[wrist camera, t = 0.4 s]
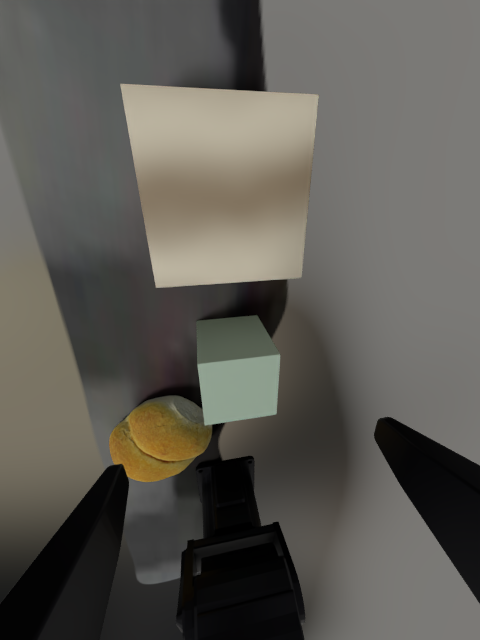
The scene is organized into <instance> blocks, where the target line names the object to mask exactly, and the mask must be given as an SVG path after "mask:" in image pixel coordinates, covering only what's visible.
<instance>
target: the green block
mask: <svg viewBox="0 0 480 640" xmlns="http://www.w3.org/2000/svg"><path fill="white" fill-rule="evenodd" d="M197 359H198V372H199V380H200V389H201V398H202V407H203V415H204V424H205V425H211V424H218V423H224V422H231V421H237V420H243V419H250V418H256V417H263V416H269V415H276V413H277V397H278V382H279V381H278V380H279V367H280V366H279V365H280V353H279V351H278V350H277V348H276V346H275V345H274V343H273V341H272V340H271V338H270V336H269V334H268V333H267V331H266V329H265V328H264V326H263V324H262V323H261V321H260V319H259V318H258V316H257V315H254V316H243V317H232V318H221V319H210V320H199V321H197Z"/></svg>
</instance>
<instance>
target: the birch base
mask: <svg viewBox="0 0 480 640" xmlns="http://www.w3.org/2000/svg"><path fill="white" fill-rule="evenodd" d="M120 85H121V91H122V97H123V102H124V108H125V114H126V119H127V125H128V131H129V136H130V142H131V148H132V153H133V159H134V165H135V171H136V176H137V182H138V188H139V193H140V199H141V205H142V210H143V216H144V222H145V227H146V233H147V239H148V245H149V250H150V256H151V262H152V267H153V273H154V279H155V284H156V288H161V287H176V286H191V285H205V284H220V283H234V282H249V281H264V280H278V279H292V278H302V267H303V256H304V245H305V235H306V224H307V214H308V213H307V212H308V203H309V192H310V182H311V171H312V161H313V150H314V139H315V129H316V118H317V108H318V97H319V95H317V94H298V93H279V92H261V91H243V90H224V89H206V88H188V87H169V86H151V85H132V84H120Z"/></svg>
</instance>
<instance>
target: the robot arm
mask: <svg viewBox="0 0 480 640" xmlns="http://www.w3.org/2000/svg"><path fill="white" fill-rule="evenodd" d="M374 438H375V441H376V442H377V444H378V446H379V448H380V450H381V451H382V453H383V455H384V457H385V459H386V461H387V462H388V464H389V466H390V468H391V469H392V471H393V473H394V475H395V477H396V478H397V480H398V482H399V483H400V485H401V487H402V488H403V490H404V491H405V493H406V494H407V496H408V497H409V499H410V500H411V502H412V503H413V505H414V506H415V508H416V509H417V511H418V512H419V514H420V515H421V517H422V518H423V519H424V521H425V522H426V524H427V525H428V527H429V529H430V530H431V531H432V533H433V534H434V536H435V537H436V539H437V541H438V542H439V544H440V545H441V547H442V548H443V550H444V551H445V552H446V554H447V555H448V557H449V558H450V560H451V561H452V563H453V564H454V566H455V567H456V569H457V570H458V572H459V573H460V575H461V576H462V578H463V579H464V581H465V582H466V584H467V585H468V587H469V588H470V590H471V591H472V593H473V594H474V596H475V597H476V599H477V600H478V602H479V603H480V466H479V465H478V464H476V463H474V462H472V461H470V460H468V459H467V458H465V457H463V456H461V455H459V454H457V453H455V452H454V451H452V450H450V449H448V448H446V447H445V446H443V445H441V444H439V443H437V442H435V441H433V440H432V439H430V438H428V437H426V436H424V435H422V434H421V433H419V432H417V431H415V430H413V429H411V428H410V427H408V426H406V425H404V424H402V423H400V422H398V421H397V420H395V419H393V418H391V417H385V418H380V419H379V420H378V421H377V425H376V429H375V433H374ZM196 475H197V482H198V488H199V495H200V501H201V503H202V506H203V537H204V539H199V540H194V539H193V540H188V544H187V549H186V550H184V551H183V552H182V556H181V579H180V588H179V597H178V606H177V615H176V624H177V626H178V628H179V629H180V630H181V632H182V633H183V640H304V635H303V630H302V626H301V624H304V622H305V610H304V603H303V597H302V592H301V588H300V584H299V580H298V576H297V573H296V570H295V567H294V564H293V562H292V559H291V556H290V553H289V550H288V547H287V545H286V542H285V539H284V536H283V533H282V531H281V528H280V525H279V522H273V524H270V525H266V526H261V521H260V517H259V512H258V507H257V502H256V498H255V493H254V458H253V457H252V456H246V457H241V458H236V459H230V460H224V461H219V462H213V463H208V464H202V465H198V466H197V467H196ZM128 490H129V480H128V477H127V474H126V471H125V468H124V465H123V464H116V465H111V466H109V467H107V468H106V470H105V471H104V472H103V474H102V475H101V476H100V477H99V479H98V480H97V481H96V483H95V484H94V485H93V487H92V488H91V489H90V490H89V491H88V493H87V494H86V495H85V496H84V498H83V499H82V500H81V501H80V503H79V504H78V505H77V507H76V508H75V509H74V510H73V512H72V513H71V514H70V516H69V517H68V518H67V519H66V520H65V522H64V523H63V525H62V526H61V527H60V528H59V529H58V531H57V532H56V533H55V534H54V536H53V537H52V538H51V540H50V541H49V542H48V543H47V545H46V546H45V547H44V549H43V550H42V551H41V552H40V554H39V555H38V556H37V558H36V559H35V560H34V561H33V562H32V564H31V565H30V566H29V568H28V569H27V570H26V571H25V573H24V574H23V575H22V576H21V578H20V579H19V580H18V582H17V583H16V584H15V585H14V587H13V588H12V589H11V591H10V592H9V593H8V594H7V596H6V597H5V598H4V599H3V601H2V602H1V603H0V640H99V639H100V635H101V631H102V626H103V622H104V618H105V613H106V609H107V604H108V600H109V596H110V592H111V587H112V583H113V578H114V574H115V570H116V566H117V561H118V557H119V551H120V547H121V540H122V534H123V526H124V519H125V512H126V504H127V497H128ZM200 571H201V575H197V572H200Z"/></svg>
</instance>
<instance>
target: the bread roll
mask: <svg viewBox="0 0 480 640" xmlns="http://www.w3.org/2000/svg"><path fill="white" fill-rule="evenodd" d="M211 435H212V424H211V425H205V424H204V415H203V409H201V408H200V407H198V406H197V405H196V404H195V403H194V402H192V401H190V400H188V399H185V398H183V397H180V396H177V395H169V396H163V397H158V398H154V399H150V400H147V401H145V402H144V403H142V404H141V405H139V406H138V407H136V408H135V409H134V410H133V411H132V412H131V413H130V415H129V416H128V417H127V418H126V419H125V420H123V421H122V422H120V423H119V424H118V425H117V426H116V427H115V428H114V430H113V431H112V433H111V436H110V442H109V446H110V453H111V457H112V460H113V462H114V464H115V465H116V464H123V465H124V468H125V471H126V474H127V476H128V477H130V478H132V479H134V480H138V481H142V482H153V481H158V480H162V479H165V478H167V477H170V476H173V475H175V474H178V473H180V472H181V471H182V470H184V469H185V468H186V467H187V466H188V465H189V464H190V463H191V462H192V461H193V460H194V459H195V457H196V456H198V455H200V454H201V453H203V452H204V451H205V449H206V448H207V446H208V444H209V442H210V439H211Z"/></svg>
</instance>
